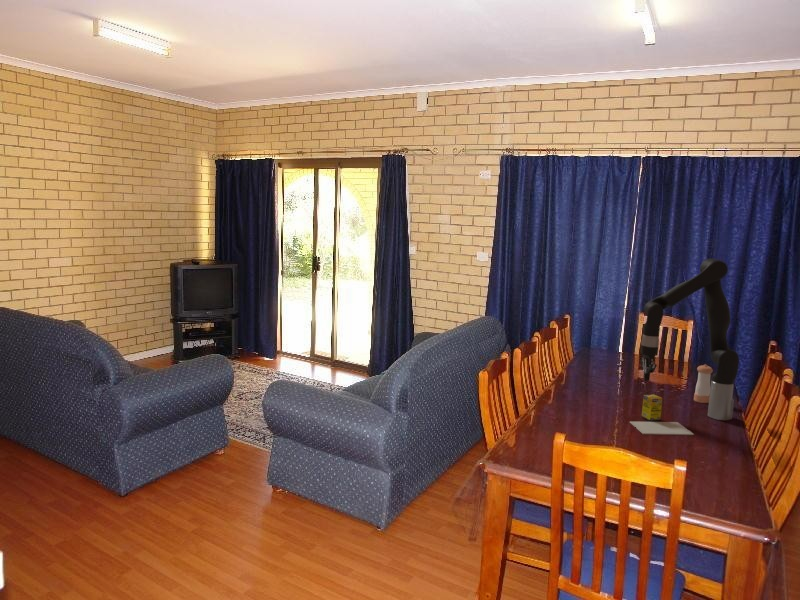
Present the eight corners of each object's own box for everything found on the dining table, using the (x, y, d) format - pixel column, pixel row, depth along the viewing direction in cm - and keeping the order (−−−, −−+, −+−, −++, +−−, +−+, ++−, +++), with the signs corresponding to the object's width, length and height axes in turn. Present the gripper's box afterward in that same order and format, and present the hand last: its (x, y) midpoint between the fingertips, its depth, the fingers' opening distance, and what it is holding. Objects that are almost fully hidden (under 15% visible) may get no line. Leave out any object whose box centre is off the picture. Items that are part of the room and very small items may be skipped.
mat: (677, 423, 260) (677, 422, 260) (693, 435, 246) (693, 434, 246) (629, 422, 260) (629, 421, 260) (643, 434, 246) (643, 433, 246)
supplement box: (649, 421, 261) (652, 398, 260) (641, 417, 267) (643, 394, 265) (660, 420, 263) (663, 398, 261) (651, 416, 268) (654, 394, 267)
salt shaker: (711, 403, 289) (715, 367, 286) (696, 402, 290) (699, 365, 288) (707, 399, 296) (710, 363, 293) (691, 398, 297) (695, 362, 295)
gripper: (664, 348, 261) (660, 384, 264) (651, 341, 274) (647, 376, 277) (648, 347, 261) (644, 384, 264) (635, 341, 274) (632, 376, 277)
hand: (646, 380), depth 270 cm, fingers closed
